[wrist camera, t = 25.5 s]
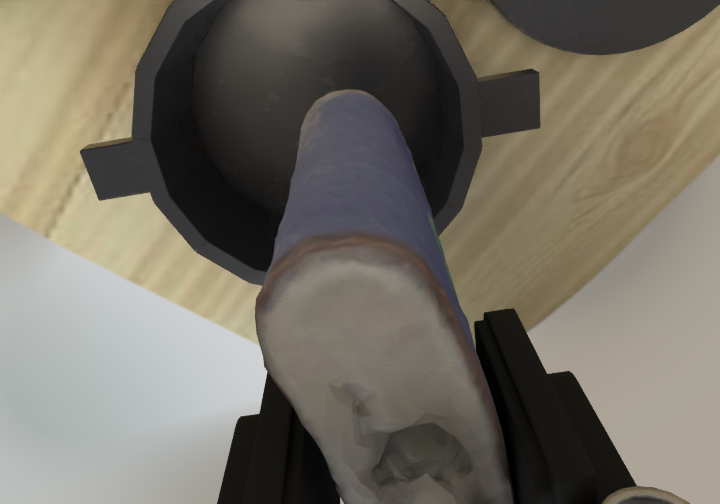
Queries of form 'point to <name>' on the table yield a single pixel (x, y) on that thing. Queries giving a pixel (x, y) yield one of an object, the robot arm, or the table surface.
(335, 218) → the flask
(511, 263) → the table surface
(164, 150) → the pan
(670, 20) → the pan lid
